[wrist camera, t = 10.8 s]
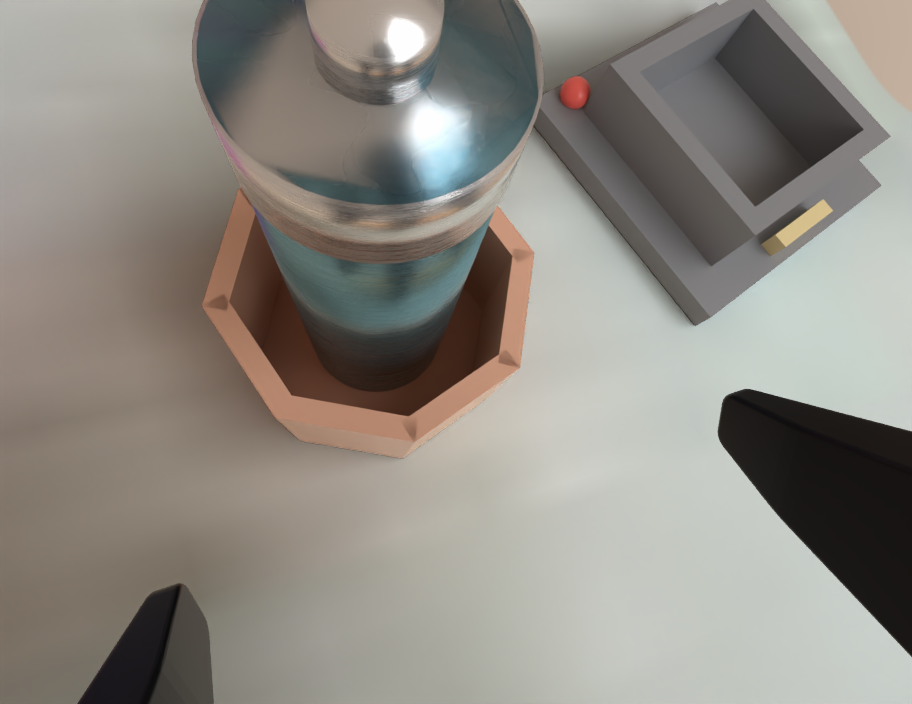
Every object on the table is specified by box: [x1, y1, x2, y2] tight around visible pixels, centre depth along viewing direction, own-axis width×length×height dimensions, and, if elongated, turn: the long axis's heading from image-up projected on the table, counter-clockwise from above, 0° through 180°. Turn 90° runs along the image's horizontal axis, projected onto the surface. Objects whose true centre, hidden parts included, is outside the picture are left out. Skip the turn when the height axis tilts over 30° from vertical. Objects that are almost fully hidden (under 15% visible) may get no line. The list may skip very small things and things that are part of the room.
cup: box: [202, 187, 534, 459], centre depth 17 cm, size 8×8×5 cm
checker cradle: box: [534, 0, 891, 326], centre depth 22 cm, size 11×11×4 cm
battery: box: [192, 0, 544, 392], centre depth 12 cm, size 4×4×13 cm
